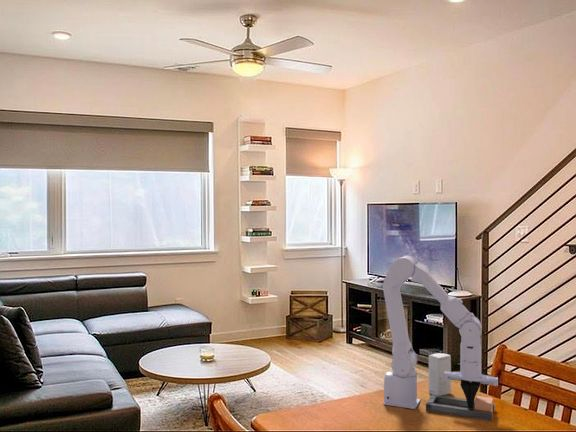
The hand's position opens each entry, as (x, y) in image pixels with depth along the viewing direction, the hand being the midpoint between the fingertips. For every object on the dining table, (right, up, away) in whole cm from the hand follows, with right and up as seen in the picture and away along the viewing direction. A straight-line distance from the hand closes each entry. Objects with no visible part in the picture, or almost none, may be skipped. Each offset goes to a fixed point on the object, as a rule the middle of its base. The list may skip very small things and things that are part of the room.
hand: (470, 407), depth 156 cm
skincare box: (-4, -2, +16) cm, 17 cm away
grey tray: (-3, -1, +1) cm, 3 cm away
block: (+3, -1, -2) cm, 4 cm away
